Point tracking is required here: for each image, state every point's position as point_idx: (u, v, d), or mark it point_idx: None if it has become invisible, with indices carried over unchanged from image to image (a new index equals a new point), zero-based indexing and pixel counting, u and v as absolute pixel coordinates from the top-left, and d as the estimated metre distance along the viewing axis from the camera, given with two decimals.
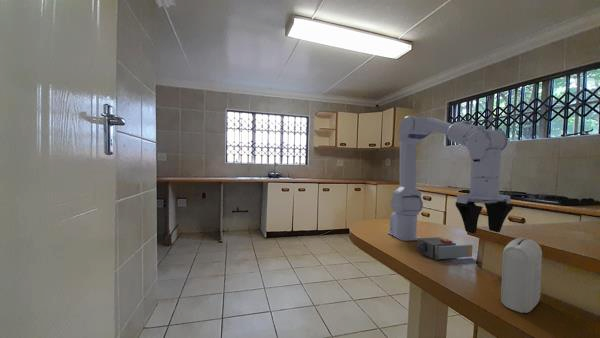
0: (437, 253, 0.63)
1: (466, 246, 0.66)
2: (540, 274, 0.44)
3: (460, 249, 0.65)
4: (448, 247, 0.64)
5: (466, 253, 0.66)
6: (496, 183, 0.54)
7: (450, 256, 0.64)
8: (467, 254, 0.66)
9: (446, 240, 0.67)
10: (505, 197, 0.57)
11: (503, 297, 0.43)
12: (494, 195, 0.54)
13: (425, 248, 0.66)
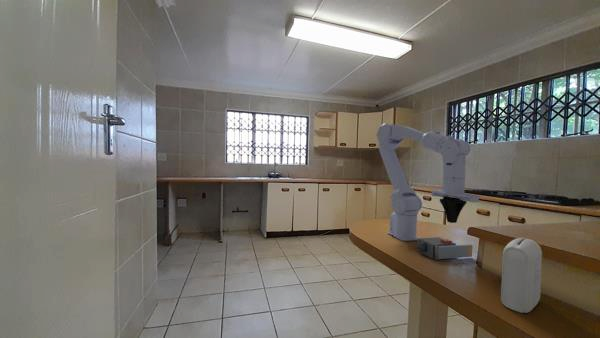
0: (437, 253, 0.63)
1: (466, 246, 0.66)
2: (540, 274, 0.44)
3: (460, 249, 0.65)
4: (448, 247, 0.64)
5: (466, 253, 0.66)
6: (445, 182, 0.69)
7: (450, 256, 0.64)
8: (467, 254, 0.66)
9: (446, 240, 0.67)
10: (464, 195, 0.65)
11: (503, 297, 0.43)
12: (444, 191, 0.70)
13: (425, 248, 0.66)
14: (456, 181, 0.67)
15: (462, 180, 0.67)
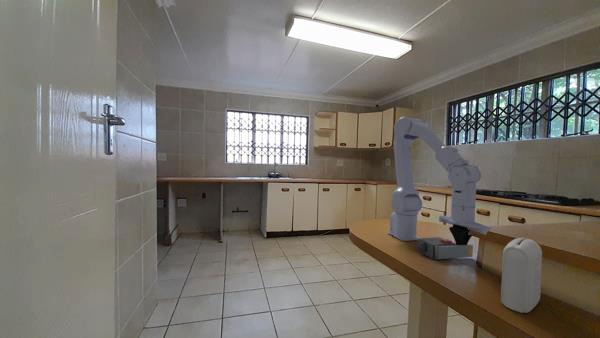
0: (437, 253, 0.63)
1: (466, 246, 0.66)
2: (540, 274, 0.44)
3: (460, 249, 0.65)
4: (448, 247, 0.64)
5: (466, 253, 0.66)
6: (454, 210, 0.66)
7: (450, 256, 0.64)
8: (467, 254, 0.66)
9: (446, 240, 0.67)
10: (474, 226, 0.62)
11: (503, 297, 0.43)
12: (453, 219, 0.67)
13: (425, 248, 0.66)
14: (466, 210, 0.64)
15: (472, 209, 0.64)
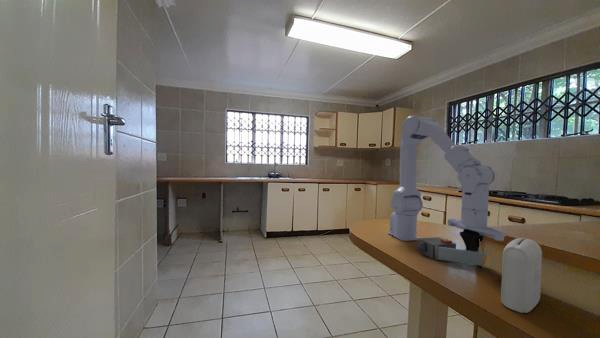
0: (436, 253, 0.63)
1: (480, 253, 0.60)
2: (540, 274, 0.44)
3: (470, 255, 0.61)
4: (452, 250, 0.62)
5: (480, 261, 0.60)
6: (465, 214, 0.61)
7: (455, 259, 0.62)
8: (481, 262, 0.60)
9: (446, 240, 0.67)
10: (487, 231, 0.57)
11: (503, 297, 0.43)
12: (463, 223, 0.62)
13: (425, 248, 0.66)
14: (478, 214, 0.59)
15: (485, 213, 0.59)
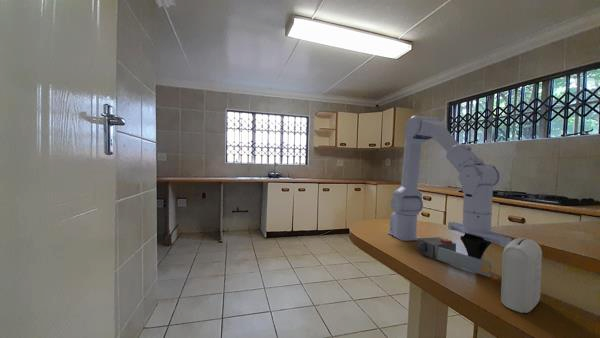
0: (435, 253, 0.64)
1: (479, 260, 0.55)
2: (540, 274, 0.44)
3: (468, 260, 0.57)
4: (450, 252, 0.61)
5: (479, 269, 0.55)
6: (467, 217, 0.57)
7: (453, 262, 0.60)
8: (480, 271, 0.55)
9: (446, 240, 0.67)
10: (492, 237, 0.53)
11: (503, 297, 0.43)
12: (465, 228, 0.57)
13: (425, 248, 0.66)
14: (481, 217, 0.55)
15: (489, 216, 0.55)
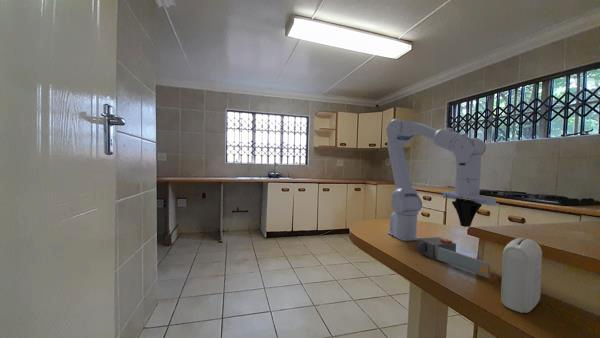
0: (435, 253, 0.64)
1: (477, 261, 0.55)
2: (540, 274, 0.44)
3: (467, 261, 0.57)
4: (450, 252, 0.60)
5: (477, 269, 0.55)
6: (458, 183, 0.65)
7: (452, 263, 0.60)
8: (479, 271, 0.55)
9: (446, 240, 0.67)
10: (479, 198, 0.60)
11: (503, 297, 0.43)
12: (457, 193, 0.65)
13: (425, 248, 0.66)
14: (471, 182, 0.63)
15: (477, 181, 0.63)
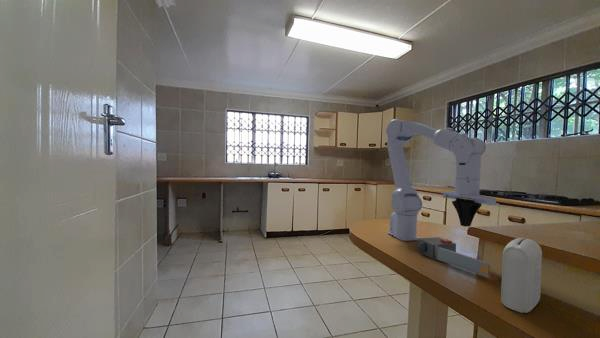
0: (435, 253, 0.64)
1: (477, 261, 0.55)
2: (540, 274, 0.44)
3: (467, 261, 0.57)
4: (450, 252, 0.60)
5: (477, 269, 0.55)
6: (458, 183, 0.65)
7: (452, 263, 0.60)
8: (479, 271, 0.55)
9: (446, 240, 0.67)
10: (479, 197, 0.60)
11: (503, 297, 0.43)
12: (457, 192, 0.65)
13: (425, 248, 0.66)
14: (471, 182, 0.63)
15: (477, 181, 0.63)
